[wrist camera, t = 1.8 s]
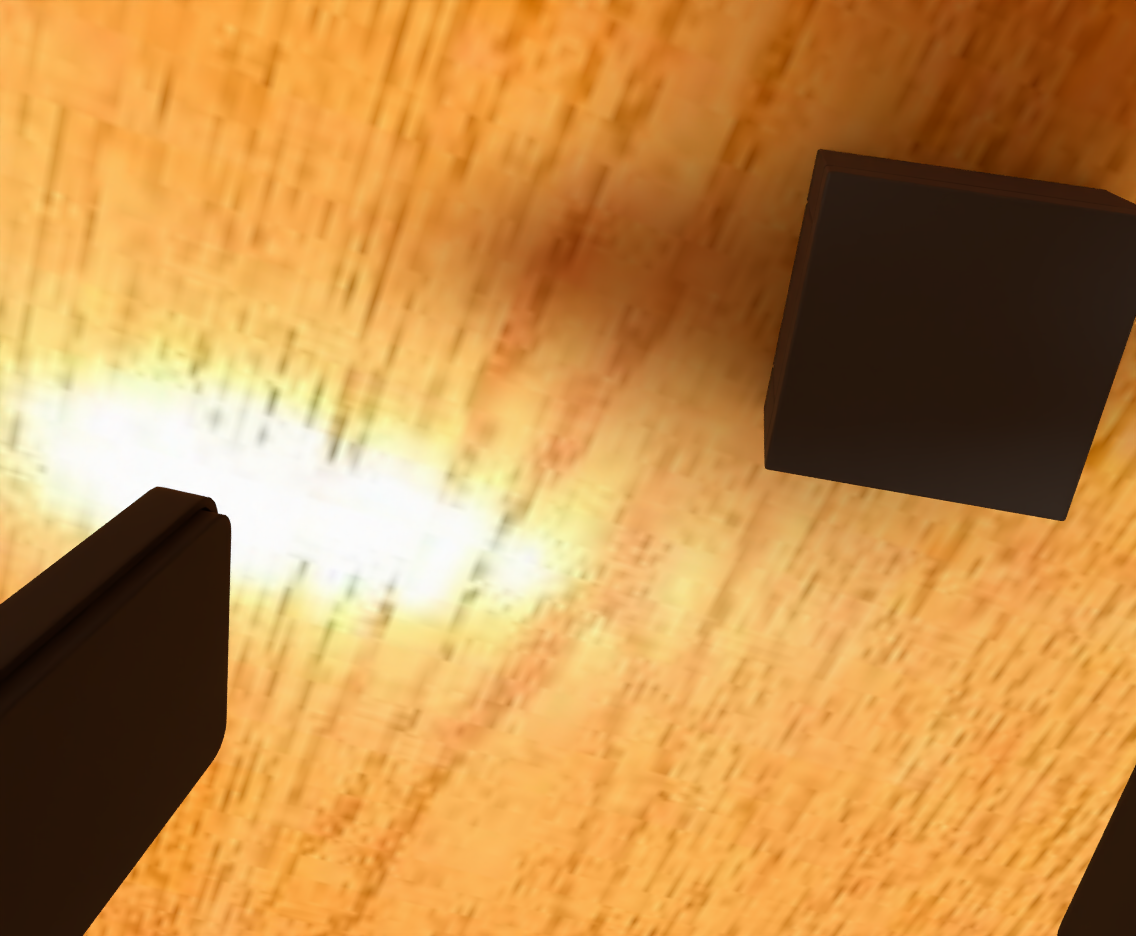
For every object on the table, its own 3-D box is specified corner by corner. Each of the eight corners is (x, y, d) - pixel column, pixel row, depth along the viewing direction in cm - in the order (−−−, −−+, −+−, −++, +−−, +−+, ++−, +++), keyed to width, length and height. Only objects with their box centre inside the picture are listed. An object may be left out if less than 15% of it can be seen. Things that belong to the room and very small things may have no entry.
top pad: (1107, 189, 23) (1171, 220, 20) (1023, 453, 26) (1065, 523, 22) (817, 148, 24) (827, 170, 21) (763, 409, 27) (763, 470, 23)
